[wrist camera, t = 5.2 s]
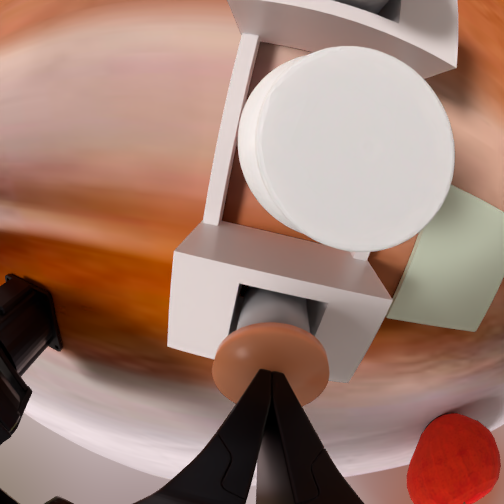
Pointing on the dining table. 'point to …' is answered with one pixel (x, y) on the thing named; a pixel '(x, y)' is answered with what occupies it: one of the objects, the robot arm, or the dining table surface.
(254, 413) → the robot arm
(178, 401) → the dining table surface
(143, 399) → the dining table surface
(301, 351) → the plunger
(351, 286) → the holder
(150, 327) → the dining table surface
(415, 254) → the mat
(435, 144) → the pill bottle
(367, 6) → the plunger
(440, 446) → the apple
